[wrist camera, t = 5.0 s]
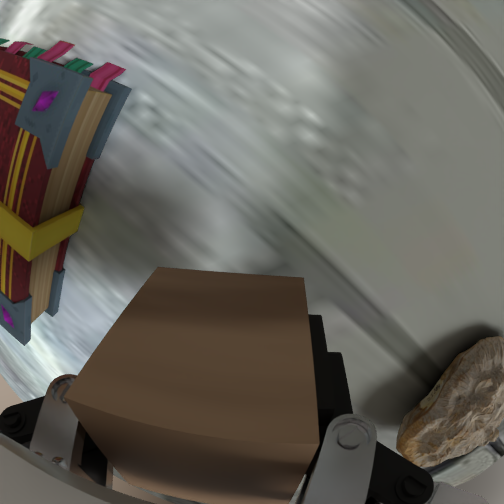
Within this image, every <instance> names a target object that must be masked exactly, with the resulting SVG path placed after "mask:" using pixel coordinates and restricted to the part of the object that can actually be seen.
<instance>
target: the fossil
mask: <svg viewBox="0 0 504 504" xmlns="http://www.w3.org/2000/svg"><path fill="white" fill-rule="evenodd" d="M503 417H504V339H503V338H502V337H500V336H497V337H487V338H486V339H482V340H479V341H478V342H477V343H476V344H475V345H474V346H472V347H471V348H470V349H468V350H466V351H465V352H462V353H459V354H458V355H457V356H456V358H455V359H454V360H453V362H452V363H451V364H450V366H449V367H448V368H447V369H446V371H445V372H444V373H443V375H442V376H441V378H440V379H439V381H438V382H437V384H436V385H435V387H434V388H433V389H432V391H431V392H430V393H429V395H428V396H426V397H425V398H424V399H423V400H422V401H421V402H420V403H419V404H418V405H417V406H416V407H415V408H414V409H413V410H412V411H409V412H408V413H407V414H406V415H405V416H404V418H403V421H402V424H401V426H400V429H399V432H398V435H397V445H396V449H397V450H398V452H400V453H401V454H402V455H403V457H404V458H405V459H407V460H408V461H410V462H412V463H414V464H415V465H417V466H419V467H421V466H422V467H431V466H435V465H438V464H440V463H442V462H443V461H445V460H447V459H451V458H453V457H458V456H461V455H463V454H466V453H468V452H471V451H472V450H473V449H474V448H475V447H477V446H485V445H487V444H488V443H489V441H491V442H494V441H496V439H497V437H498V436H499V430H498V429H497V427H499V424H500V422H501V421H502V419H503Z"/></svg>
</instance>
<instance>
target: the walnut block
mask: <svg viewBox="0 0 504 504" xmlns="http://www.w3.org/2000/svg"><path fill="white" fill-rule="evenodd" d="M64 398H65V400H66V401H67V403H68V405H69V406H70V408H71V409H72V411H73V412H74V414H75V416H76V417H77V419H78V420H79V422H80V423H81V424H82V426H83V427H84V429H85V430H86V432H87V433H88V434H89V436H90V437H91V438H92V440H93V441H94V443H95V444H96V445H97V446H98V448H99V449H100V450H101V452H102V453H103V454H104V455H105V457H106V458H107V459H108V460H109V462H110V463H111V464H112V465H113V466H114V468H115V469H116V470H117V471H118V472H119V473H120V474H121V476H122V477H123V478H124V479H125V480H126V481H127V482H128V483H129V484H131V485H134V486H137V487H140V488H144V489H147V490H151V491H154V492H158V493H162V494H166V495H170V496H174V497H178V498H183V499H188V500H193V501H198V502H203V503H209V504H289V502H290V500H291V499H292V497H293V495H294V493H295V491H296V490H297V488H298V486H299V484H300V482H301V480H302V478H303V476H304V475H305V473H306V471H307V469H308V467H309V465H310V463H311V461H312V459H313V457H314V454H315V452H316V450H317V448H318V446H319V444H320V442H319V426H318V411H317V398H316V386H315V375H314V364H313V354H312V344H311V334H310V325H309V317H308V308H307V300H306V292H305V284H304V278H301V277H285V276H270V275H255V274H241V273H227V272H214V271H201V270H189V269H177V268H165V267H157V268H156V270H155V271H154V272H153V273H152V275H151V276H150V277H149V278H148V280H147V281H146V282H145V284H144V285H143V286H142V287H141V289H140V290H139V291H138V293H137V294H136V295H135V297H134V298H133V299H132V300H131V302H130V303H129V304H128V306H127V307H126V308H125V310H124V311H123V312H122V314H121V315H120V316H119V318H118V319H117V320H116V322H115V323H114V324H113V326H112V327H111V329H110V330H109V331H108V333H107V334H106V335H105V337H104V338H103V340H102V341H101V342H100V344H99V345H98V347H97V348H96V350H95V351H94V352H93V354H92V355H91V357H90V358H89V360H88V361H87V362H86V364H85V365H84V367H83V368H82V370H81V371H80V373H79V374H78V376H77V377H76V379H75V380H74V382H73V383H72V385H71V386H70V388H69V389H68V391H67V392H66V394H65V395H64Z"/></svg>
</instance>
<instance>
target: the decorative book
mask: <svg viewBox="0 0 504 504" xmlns="http://www.w3.org/2000/svg"><path fill="white" fill-rule="evenodd" d="M8 41H10V40H6V39H2V38H0V45H1V44H3V43H6V42H8ZM25 44H30V43H26V42H14V43H13V44H11V45H10V46H9V47H8V48H7V47H1V46H0V325H2V326H3V327H4V328H5V329H6V330H7V331H8V332H9V333H10V334H11V335H12V336H13V337H15V338H16V339H17V340H18V341H19V342H20V343H22V344H23V345H24V346H25V345H26V344H27V343H28V342H29V341H30V340H31V323H32V322H33V321H34V320H35V319H36V318H38V317H39V316H40V315H41V314H42V313H43V312H44V311H45V312H47V313H48V314H49V315H51V316H52V317H53V316H54V315H55V314H56V313H57V312H58V307H59V301H60V295H61V289H62V283H63V278H64V273H65V269H62V268H63V263H64V258H65V254H66V250H67V246H68V241H69V238H70V236H71V235H72V234H74V233H76V232H77V231H78V227H79V224H80V220H81V217H82V214H83V211H84V208H85V207H83V206H82V205H80V204H79V203H80V199H81V196H82V193H83V190H84V187H85V184H86V181H87V179H88V176H89V173H90V170H91V168H92V165H93V162H94V160H95V159H98V158H99V157H100V155H101V152H102V150H103V148H104V145H105V143H106V141H107V138H108V136H109V134H110V132H111V129H112V127H113V125H114V123H115V121H116V119H117V117H118V115H119V113H120V111H121V109H122V107H123V105H124V103H125V101H126V99H127V97H128V95H129V93H130V91H131V88H129V87H126V86H124V85H122V84H119V83H117V82H115V81H112V79H114V78H116V77H117V76H119V75H120V74H122V73H123V72H124V71H125V70H126V69H124V68H121V67H119V66H116V65H114V64H111V63H108V62H107V63H106V64H104V65H103V66H102V67H101V68H99V69H97V70H96V71H94V72H89V71H87V70H85V69H86V68H88V67H90V66H91V65H93V64H92V63H89V62H87V61H84V60H81V59H78V58H76V59H74V60H72V61H71V62H69V63H67V64H66V65H62V64H59V63H56V62H54V60H55V59H57V58H59V57H61V56H62V55H64V54H65V53H66V52H68V51H69V50H70V49H71V48H72V47H73V46H75V45H74V44H71V43H68V42H64V41H61V40H60V41H59V42H58V43H57V44H56V45H54V46H53V47H52V48H51V49H50V50H48V51H47V50H44V49H41V48H37V47H33V48H32V49H31V50H30V51H29V52H23V51H20V49H21V48H22V47H23V46H24V45H25ZM30 45H34V44H30ZM45 51H46V52H45ZM44 52H45V53H44Z"/></svg>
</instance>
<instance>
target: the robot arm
mask: <svg viewBox="0 0 504 504" xmlns="http://www.w3.org/2000/svg"><path fill="white" fill-rule="evenodd" d="M308 317H309V325H310V334H311V344H312V354H313V364H314V375H315V386H316V398H317V411H318V426H319V442H320V444H319V446H318V448H317V450H316V452H315V454H314V457H313V459H312V461H311V463H310V465H309V467H308V469H307V471H306V473H305V474H306V475H305V478H304V481H303V483H302V486H301V489H300V491H299V494H298V497H297V499H296V502H295V504H489V503H488V502H487V500H486V499H485V498H483V497H482V496H479V495H476V494H473V493H470V492H467V491H464V490H461V489H459V488H456V487H453V486H451V485H448V484H446V483H443V482H440V483H439V484H437V483H435V482H433V479H432V477H431V476H430V474H429V473H428V472H427V471H425V470H424V469H422V468H420V467H419V466H417V465H415V464H414V463H412V462H410V461H408V460H407V459H405V458H404V457H402V456H400V455H399V454H397V453H395V452H394V451H392V450H390V449H389V448H387V447H386V446H384V445H383V444H381V443H379V442H378V441H377V431H376V429H375V427H374V425H373V424H372V423H371V421H370V420H368V419H367V418H365V417H363V416H361V415H357V414H353V411H352V405H351V399H350V394H349V388H348V383H347V378H346V373H345V368H344V363H343V358H342V354H341V353H340V352H328V351H327V345H326V339H325V333H324V327H323V321H322V316H321V315H309V314H308ZM76 377H77V375H72V374H65V375H62V376H59V377H57V378H56V379H54V380H53V381H52V382H51V383H50V385H49V387H48V389H47V392H46V395H45V396H43V397H40V398H36V399H33V400H30V401H26V402H23V403H20V404H16V405H13V406H10V407H8V408H6V409H5V410H4V411H3V412H2V414H1V415H0V504H155V503H151V502H148V501H144V500H141V499H138V498H135V497H132V496H129V495H126V494H123V493H120V492H117V491H115V490H112V481H113V465H112V464H111V463H110V462H109V460H108V459H107V458H106V457H105V455H104V454H103V453H102V452H101V450H100V449H99V448H98V446H97V445H96V444H95V443H94V441H93V440H92V438H91V437H90V436H89V434H88V433H87V432H86V430H85V429H84V427H83V426H82V424H81V423H80V422H79V420H78V419H77V417H76V416H75V414H74V412H73V411H72V409H71V408H70V406H69V405H68V403H67V401H66V400H65V398H64V395H65V394H66V392H67V391H68V389H69V388H70V386H71V385H72V383H73V382H74V380H75V379H76Z"/></svg>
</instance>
